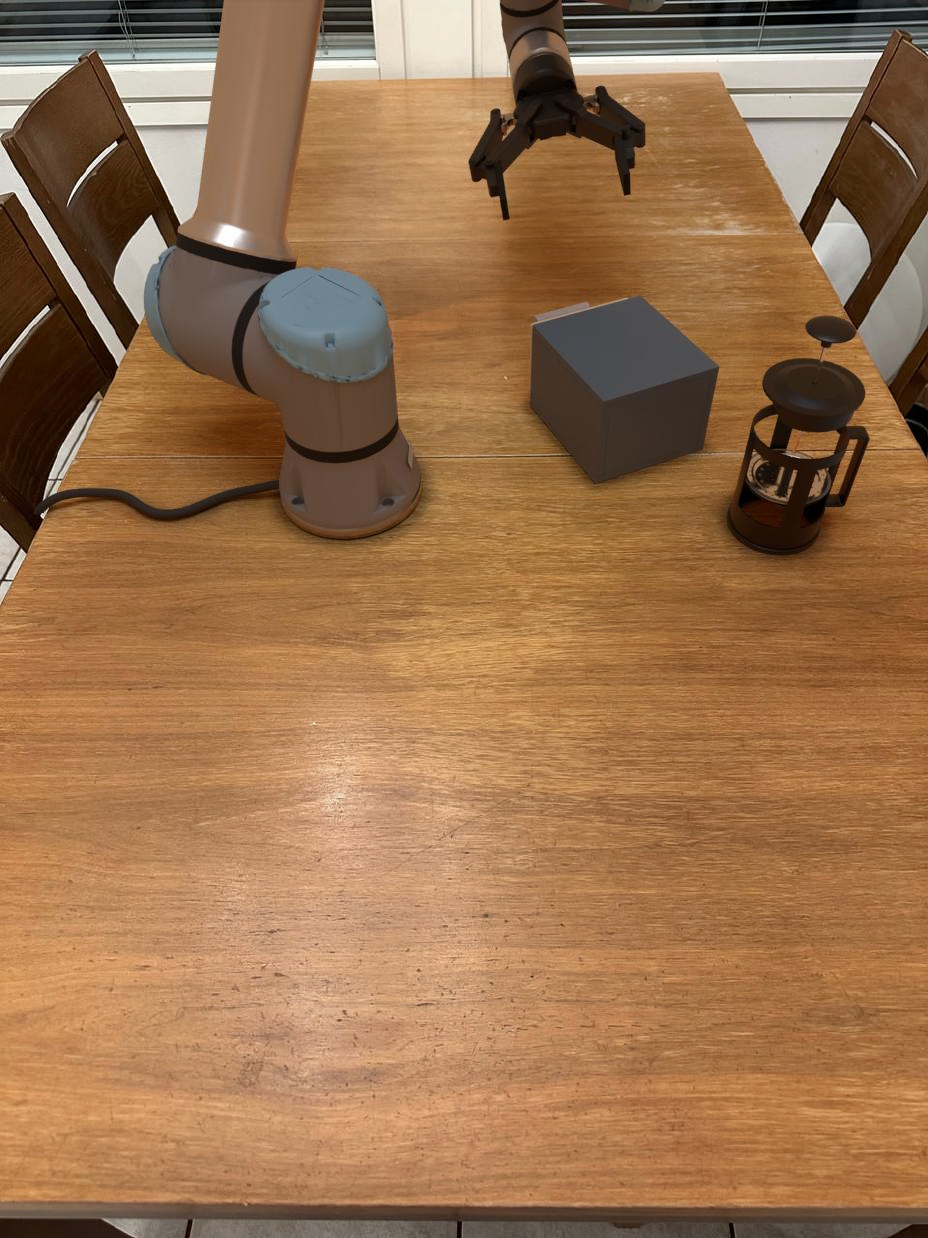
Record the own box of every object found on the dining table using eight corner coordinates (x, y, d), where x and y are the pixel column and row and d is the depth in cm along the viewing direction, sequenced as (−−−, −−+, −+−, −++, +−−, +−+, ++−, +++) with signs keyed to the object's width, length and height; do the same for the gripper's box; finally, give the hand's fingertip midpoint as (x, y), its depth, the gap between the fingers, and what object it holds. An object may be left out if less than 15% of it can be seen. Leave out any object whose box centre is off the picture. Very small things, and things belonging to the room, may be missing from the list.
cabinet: (529, 405, 112) (532, 324, 104) (630, 375, 116) (640, 294, 108) (595, 484, 103) (603, 401, 95) (702, 449, 106) (719, 366, 98)
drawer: (510, 369, 116) (511, 303, 109) (600, 343, 119) (606, 277, 112) (587, 460, 104) (593, 392, 97) (685, 429, 107) (697, 361, 100)
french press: (727, 555, 95) (779, 356, 78) (713, 493, 101) (758, 296, 84) (846, 555, 95) (924, 355, 77) (824, 493, 101) (892, 295, 84)
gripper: (646, 89, 116) (678, 202, 106) (448, 132, 120) (461, 247, 109) (645, 27, 110) (679, 142, 100) (436, 75, 113) (448, 191, 103)
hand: (565, 197), depth 104 cm, fingers open, 13 cm apart
